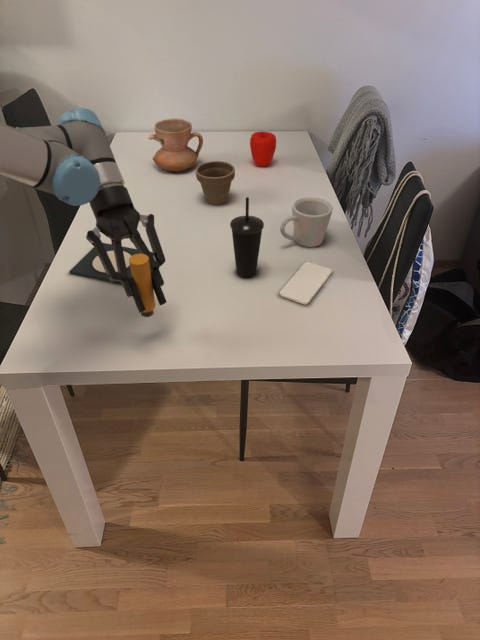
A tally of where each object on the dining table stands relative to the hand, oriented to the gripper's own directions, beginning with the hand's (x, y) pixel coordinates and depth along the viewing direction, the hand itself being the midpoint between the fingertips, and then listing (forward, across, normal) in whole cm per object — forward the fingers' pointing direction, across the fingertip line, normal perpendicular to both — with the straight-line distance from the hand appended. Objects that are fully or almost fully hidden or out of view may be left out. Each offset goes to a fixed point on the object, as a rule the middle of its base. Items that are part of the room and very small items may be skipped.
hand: (152, 307), depth 90 cm
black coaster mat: (-16, -3, -31) cm, 35 cm away
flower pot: (-27, -42, -42) cm, 65 cm away
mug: (-4, -50, -19) cm, 53 cm away
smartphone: (+7, -39, -8) cm, 40 cm away
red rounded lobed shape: (-38, -69, -52) cm, 94 cm away
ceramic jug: (-47, -43, -62) cm, 89 cm away
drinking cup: (-1, -29, -16) cm, 34 cm away
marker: (0, 0, -6) cm, 6 cm away
